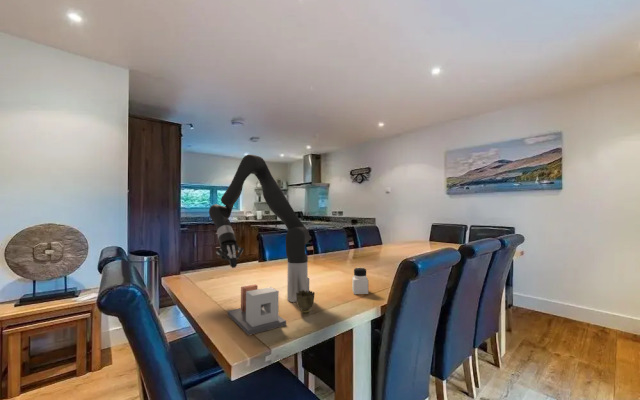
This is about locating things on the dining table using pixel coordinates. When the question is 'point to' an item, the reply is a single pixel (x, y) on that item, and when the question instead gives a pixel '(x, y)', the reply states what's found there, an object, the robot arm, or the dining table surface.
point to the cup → (305, 301)
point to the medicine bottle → (360, 281)
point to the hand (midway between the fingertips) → (234, 266)
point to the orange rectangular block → (243, 295)
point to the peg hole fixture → (258, 311)
